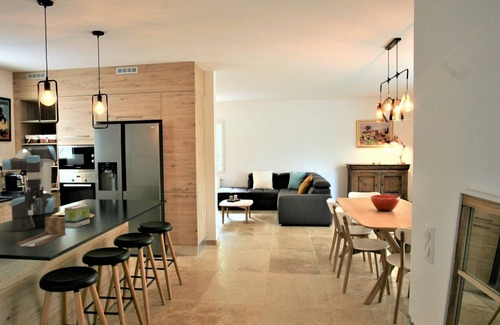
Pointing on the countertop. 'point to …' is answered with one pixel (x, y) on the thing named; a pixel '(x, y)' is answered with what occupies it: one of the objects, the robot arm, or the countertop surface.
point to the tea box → (77, 216)
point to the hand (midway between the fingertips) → (35, 213)
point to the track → (47, 232)
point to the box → (36, 206)
